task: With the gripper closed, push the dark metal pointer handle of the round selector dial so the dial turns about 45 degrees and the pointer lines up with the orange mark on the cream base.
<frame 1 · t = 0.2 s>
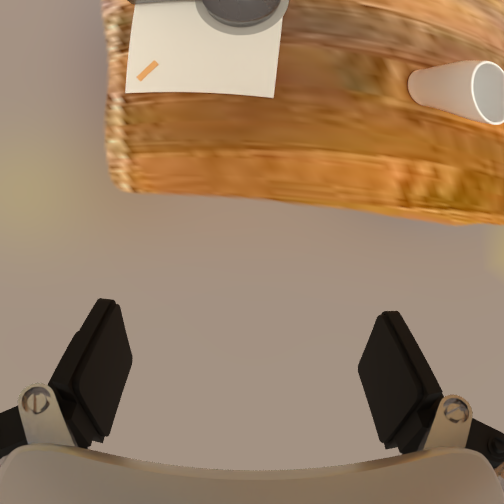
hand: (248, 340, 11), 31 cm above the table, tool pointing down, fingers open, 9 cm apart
drinking glass: (421, 87, 33), on the table
dial base: (205, 25, 29), on the table
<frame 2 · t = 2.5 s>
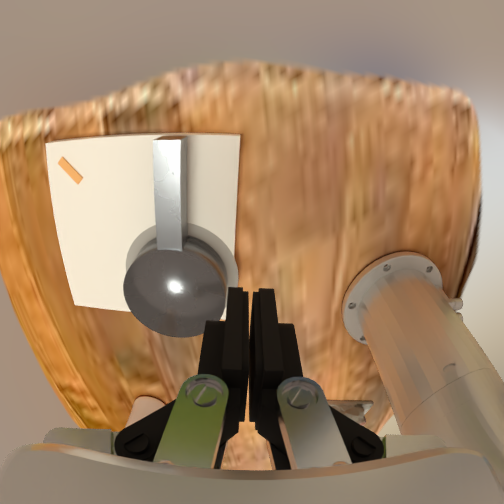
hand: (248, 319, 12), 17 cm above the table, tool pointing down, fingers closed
drinking glass: (151, 403, 42), on the table
packaged product: (322, 426, 46), on the table
dial base: (141, 228, 28), on the table
selector dial: (173, 244, 25), point 4 cm above the table, hinge at 0.0°
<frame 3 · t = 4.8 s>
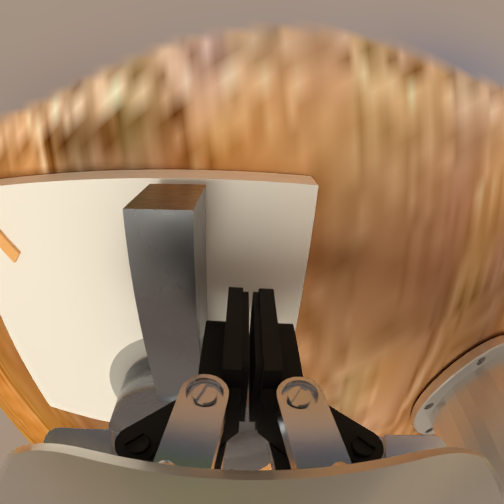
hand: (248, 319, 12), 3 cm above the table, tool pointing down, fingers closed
dial base: (127, 329, 16), on the table
selector dial: (186, 381, 13), point 4 cm above the table, hinge at 0.1°, touching gripper
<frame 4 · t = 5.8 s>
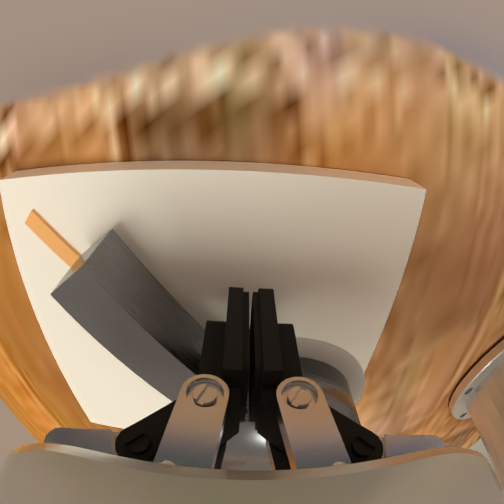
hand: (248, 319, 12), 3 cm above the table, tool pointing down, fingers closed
dial base: (202, 336, 16), on the table
selector dial: (229, 397, 13), point 4 cm above the table, hinge at 36.2°, touching gripper
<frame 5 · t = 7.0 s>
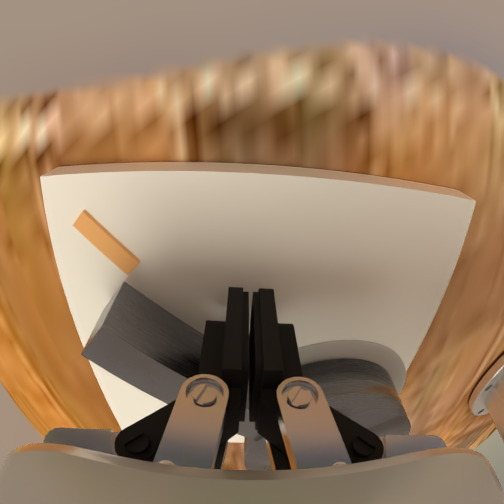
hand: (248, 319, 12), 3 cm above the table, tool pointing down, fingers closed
dial base: (255, 341, 16), on the table
selector dial: (272, 410, 13), point 4 cm above the table, hinge at 50.5°, touching gripper
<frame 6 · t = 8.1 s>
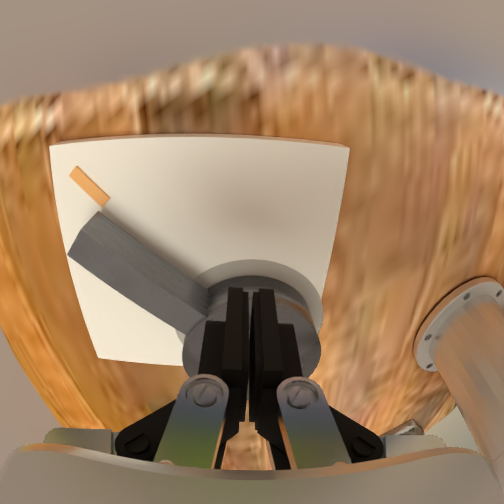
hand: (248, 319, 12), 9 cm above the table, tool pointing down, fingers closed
packaged product: (370, 446, 42), on the table
dial base: (193, 265, 21), on the table
selector dial: (200, 313, 19), point 4 cm above the table, hinge at 51.0°
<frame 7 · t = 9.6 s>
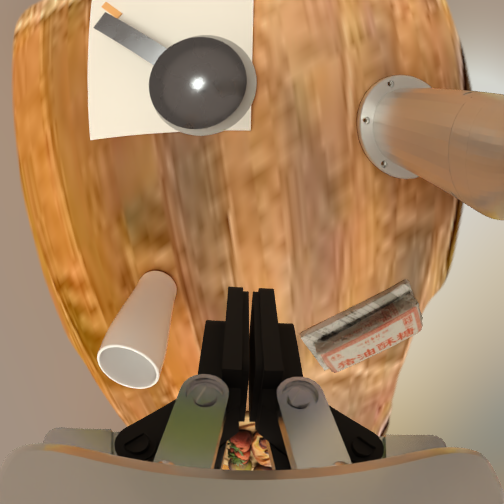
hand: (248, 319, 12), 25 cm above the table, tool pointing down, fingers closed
wooden plate with food: (272, 439, 62), on the table
drinking glass: (158, 284, 41), on the table
packaged product: (362, 324, 45), on the table
dial base: (167, 53, 27), on the table
selector dial: (165, 60, 25), point 4 cm above the table, hinge at 51.0°
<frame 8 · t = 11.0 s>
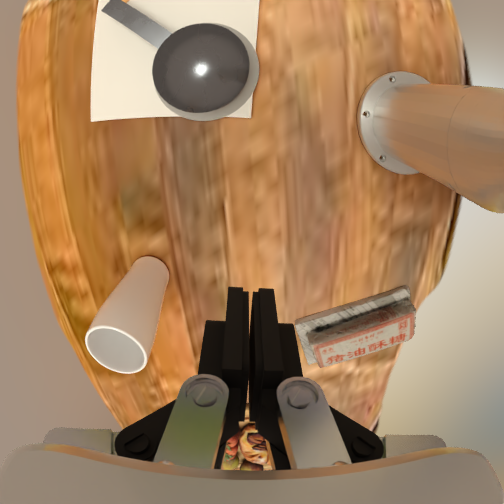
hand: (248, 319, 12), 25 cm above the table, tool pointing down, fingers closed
wooden plate with food: (260, 436, 62), on the table
drinking glass: (151, 271, 40), on the table
packaged product: (355, 323, 46), on the table
dial base: (172, 39, 27), on the table
selector dial: (170, 44, 24), point 4 cm above the table, hinge at 51.0°
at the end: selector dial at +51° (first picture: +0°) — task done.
